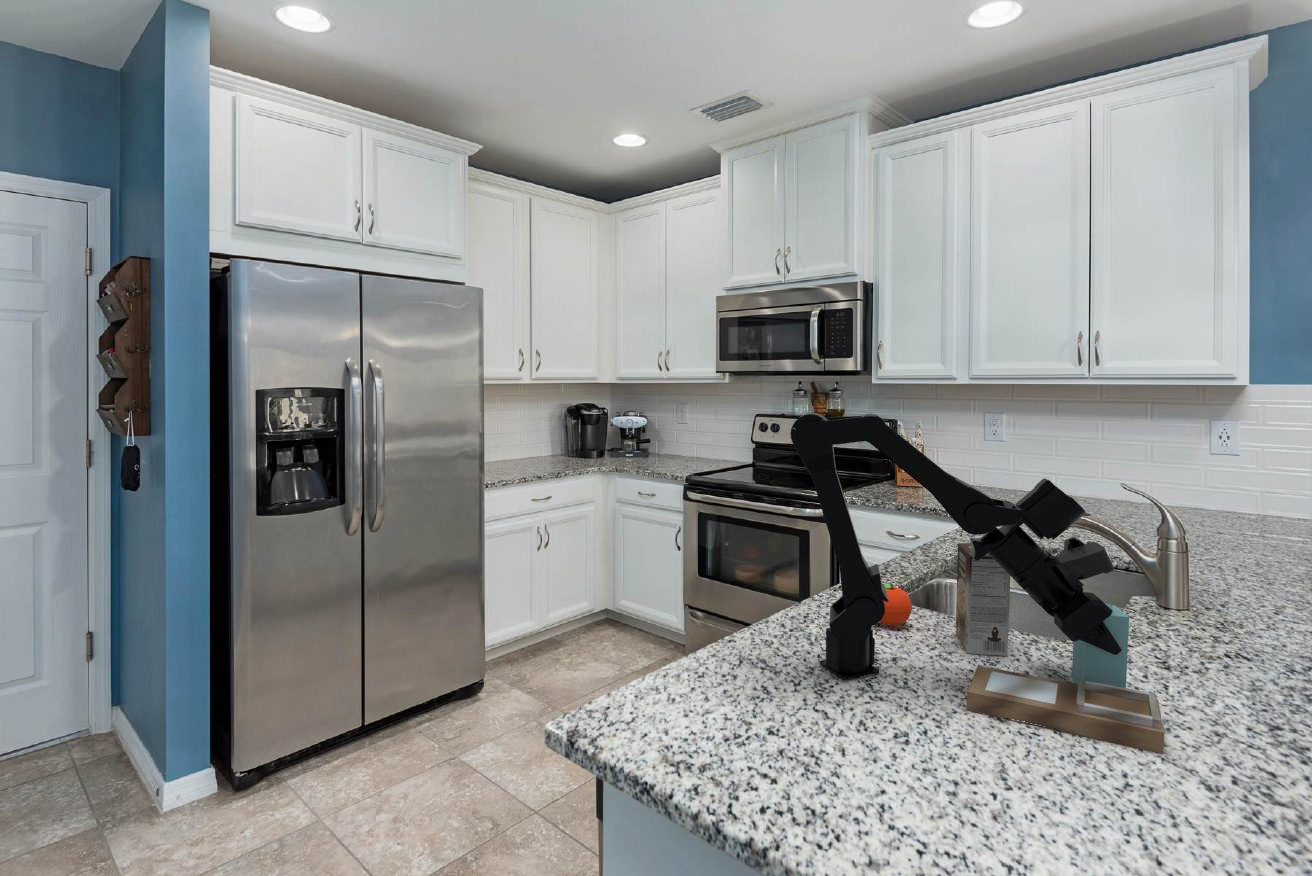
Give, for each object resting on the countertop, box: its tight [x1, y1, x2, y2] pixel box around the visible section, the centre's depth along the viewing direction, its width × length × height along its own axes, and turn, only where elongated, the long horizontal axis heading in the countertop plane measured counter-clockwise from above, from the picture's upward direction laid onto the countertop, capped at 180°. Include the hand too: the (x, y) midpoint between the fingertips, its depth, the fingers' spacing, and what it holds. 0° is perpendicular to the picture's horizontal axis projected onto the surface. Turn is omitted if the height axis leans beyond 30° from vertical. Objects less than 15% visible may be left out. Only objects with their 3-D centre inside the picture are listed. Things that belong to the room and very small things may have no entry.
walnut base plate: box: [966, 665, 1165, 754], centre depth 90 cm, size 21×10×4 cm, turn 58°
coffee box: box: [955, 542, 1011, 657], centre depth 114 cm, size 9×6×16 cm
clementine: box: [879, 584, 913, 627], centre depth 125 cm, size 8×7×7 cm
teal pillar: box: [1071, 602, 1130, 688], centre depth 96 cm, size 5×5×12 cm
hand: (1111, 645), depth 96 cm, fingers closed on teal pillar, 5 cm apart
